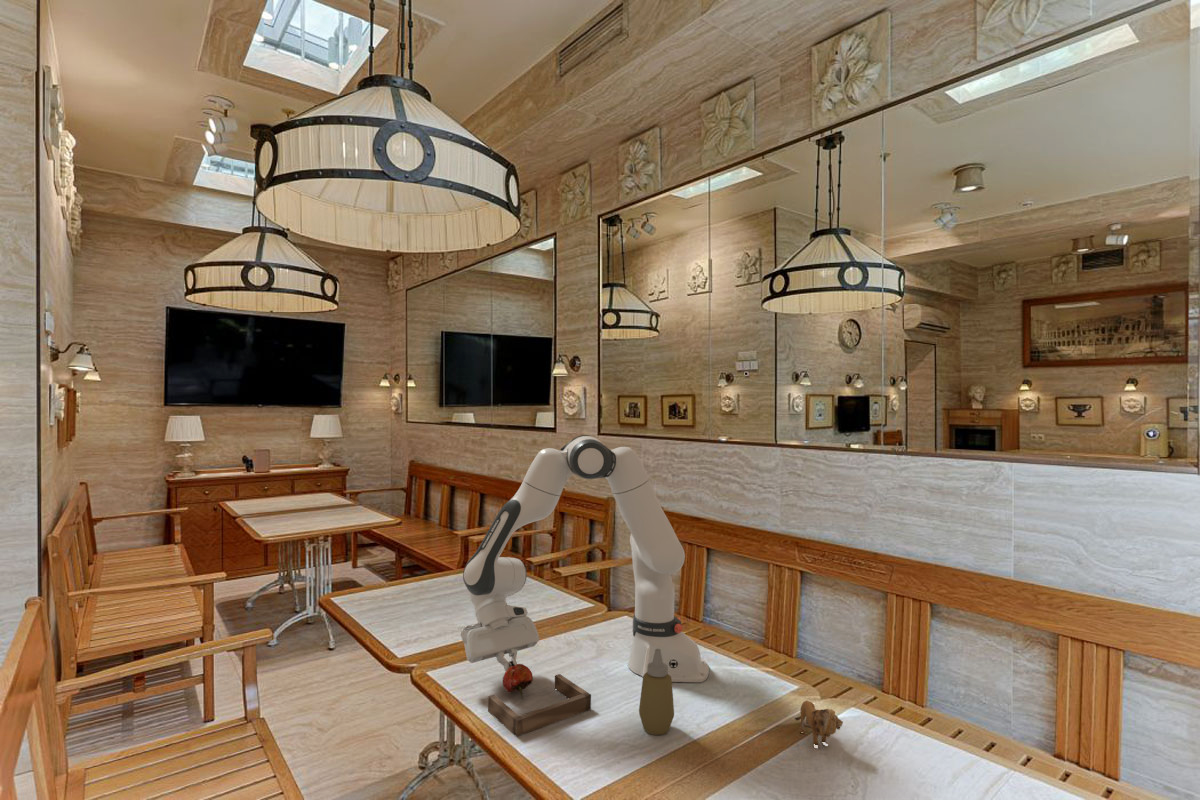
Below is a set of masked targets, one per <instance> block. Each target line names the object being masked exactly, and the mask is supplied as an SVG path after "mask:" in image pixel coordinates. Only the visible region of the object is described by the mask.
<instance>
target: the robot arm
mask: <svg viewBox="0 0 1200 800" xmlns="http://www.w3.org/2000/svg"><path fill="white" fill-rule="evenodd" d="M575 475H576V476H578V477H579V478H582V479H585V480H596V479H603V478H604V479H606V480H607V483H608V486H609V487H610V489H611V493H612V496H613V498H614V500H615V502H616V505H617V507H618V510H619V512H620V515H621V518H622V519H623V521H624V523H625V524H626V527H627V528H628V530H629V532H630V536H629V544H630V549H631V559H632V572H633V578H634V587H635V589H634V593H635V594H634V596H635V597H634V614H633V616H632V636H633V638H632V639H633V640H632V646H631V650H630V651H631V652H630V654H629V655H630V656H629V659H628V662H627V667H628V669H629V670H630V671H631V672H632V673H634V674H636V675H639V676H641V677H642V678H643V675H644V674H645V673H646V672H647V665H648V664H649V663H651V662H653V658H654V653H655V649H660V650H661V655H662V661H663V663H665V664H666V665H667V666H668V674H669V675H670V676H671V679H672V683H678V682H679V683H703V682H704V681H706V680H707V679H708V677H709V673H710V670H709V664H708V662H707V661H706V660H705V659H704V658H702V656H701V652H700V651H701V650H700V648H699V646H698V644H697V643H696V642H695V641H694V640H693V639H692V638H690V636H688V635H686V634H685V632H683V626H682V621H681V620H682V619H681V617H680V616H679V617H676V616H675V593H676V590H675V586H674V583H673V579H672V578H673V577H672V575H673V574H674V575H675V573H678V571H680V570H681V568H682V567H683V565H684V563H685V560H686V559H685V558H686V553H685V549H684V548H683V547H684V546H683V545H682V544H681V542H680V540H679V538H678V536H677V534H676V532H675V530H674V528H673V526H672V525H671V523H670V520H669V519H668V517H667V515H666V514H665V512H664V510H663V508H662V506H661V504H660V502H659V499H658V497H657V494H656V492H655V489H654V487H653V484H652V482H651V479H650V477H649V475H648V472H647V470H646V468H645V466H644V465H643V463H642V460H641V459H640V457H639V456H638V454H637V452H636V451H635V450H634V449H633V448H631V447H628V446H619V447H616V448H613V449H610V448H608V447H607V446H606V445H605V444H604V443H603V442H602V441H601V440H599V439H598V438H596V437H595V436H591V435H588V434H582V435H578V436H575V437H574V438H572V439H571V440H570V441H569V442H568V443H566V444H565V445H564V446H563V447H561V448H560V450H559V449H556V448H552V447H548V448H543V449H541V450H540V451H538V453H537V454H536V455H535V457H534V459H533V461H532V462H531V464H530V465H529V467H528V470H527V471H526V474H525V475H524V478H523V480H522V483H521V485H520V486H519V488H518V490H517V491H516V493H515V494H514V496H512V497H511V498H510V499H509V500H508V501H507V502H506V503H504V505H503V506H502V507H501V509H499V511H498V513H497V515H496V516H495V518H494V520H493V521H492V523H491V525H490V527H489V529H488V530H487V532H486V534H485V536H484V538H483V539H482V540H481V541H482V542H481V543H480V544H479V546H478V548H477V549H476V551H475V552H474V554H473V555H472V556H471V557H470V558H469V559H468V560H467V562H466V564H465V566H464V567H463V568H464V569H463V572H462V579H463V583H464V585H465V587H466V589H467V593H468V596H469V601H470V602H471V604H472V605H473V607H474V612H475V613H474V615H475V618H476V621H477V623H475V624H471V625H465V626H464V628H463V629H462V630H461V631H460V636H461V640H462V643H464V651H465V655H466V660H467V661H468V662H469V663H471V664H475V663H478V662H481V661H485V660H488V659H493V658H495V659H496V661H497V662H498V663H499V664H500V665H501V666H503V669H504V672H506V671H507V670H508V669H509V668H510V667H511V663H509V662H511V661H513V664H514V665H517V664H518V662H517V655H518V652H519V651H522V650H527V649H529V648H533V647H535V646H536V645H537V644H538V643H539V640H540V635H539V632H538V629H537V627H536V625H535V622H534V621H533V620H532V618H531V617H530V616H527V615H528V609H527V608H526V607H524V606H523V607H522V606H516V605H510V604H508V603H507V600H506V599H507V598H508V597H511V596H513V595H515V594H516V593H518V592H520V591H521V590H522V589H523V587H524V586H525V584H526V582H527V575H528V574H527V568H526V566H525V564H524V562H523V561H522V560H521V559H519V558H517V557H508V556H501V554H502V553H503V551H504V549H505V547H506V545H507V544H508V542H509V540H510V538H511V537H512V535H513V534H514V533H515V532H516V531H517V530H518V529H520V528H522V527H524V526H526V525H528V524H531V523H534V522H538V521H541V520H544V519H546V518H547V517H549V516H550V515H551V514H552V513H553V511H554V510H555V509H556V507H557V505H558V502H559V500H560V497H561V495H562V492H563V491H564V488H565V485H566V484H567V482H568V480H569V479H570V478H572V477H573V476H575ZM507 654H508V656H509V658H511V660H510V661H508V659H506V658H505V655H507Z"/></svg>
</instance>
